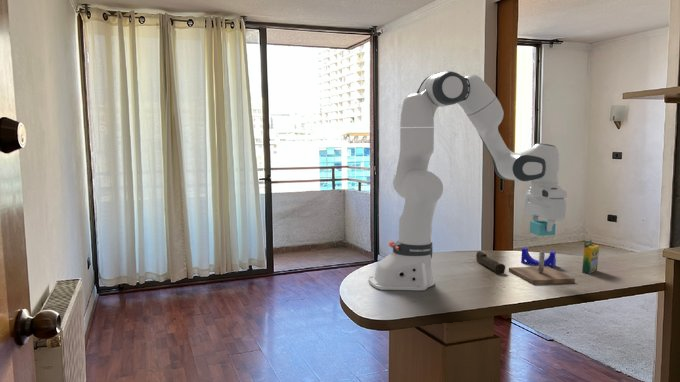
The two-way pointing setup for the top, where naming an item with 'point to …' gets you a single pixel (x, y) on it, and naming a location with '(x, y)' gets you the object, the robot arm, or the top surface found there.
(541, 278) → the post stand
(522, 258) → the blue curved cradle
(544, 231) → the collar
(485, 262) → the dark brown rod
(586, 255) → the crayon box
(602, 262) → the top surface
